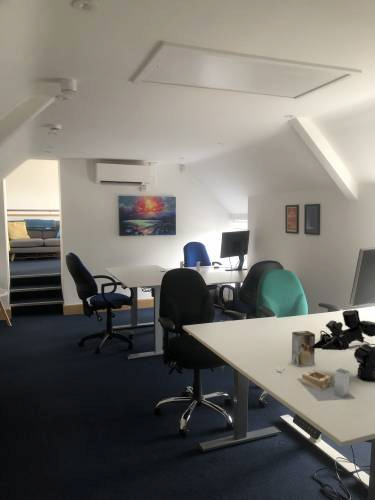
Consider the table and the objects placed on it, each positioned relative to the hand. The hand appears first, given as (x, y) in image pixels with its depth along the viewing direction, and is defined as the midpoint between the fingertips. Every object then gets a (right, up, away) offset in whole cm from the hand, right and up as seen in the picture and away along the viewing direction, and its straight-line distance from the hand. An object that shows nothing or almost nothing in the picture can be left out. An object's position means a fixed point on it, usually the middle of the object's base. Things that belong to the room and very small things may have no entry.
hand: (317, 347), depth 174 cm
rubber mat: (+2, -17, -4) cm, 17 cm away
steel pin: (+7, -17, -10) cm, 21 cm away
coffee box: (0, -14, +23) cm, 27 cm away
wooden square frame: (0, -16, -1) cm, 16 cm away
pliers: (-14, -16, +10) cm, 23 cm away
